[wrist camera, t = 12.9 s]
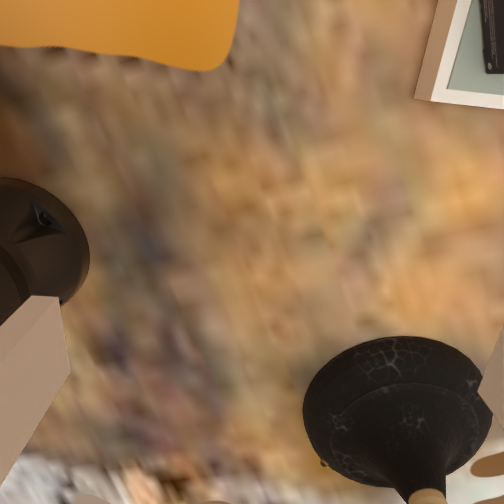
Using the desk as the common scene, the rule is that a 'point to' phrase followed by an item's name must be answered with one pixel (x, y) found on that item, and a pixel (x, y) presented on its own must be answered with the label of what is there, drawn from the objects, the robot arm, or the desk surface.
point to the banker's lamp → (398, 415)
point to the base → (458, 59)
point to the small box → (493, 35)
